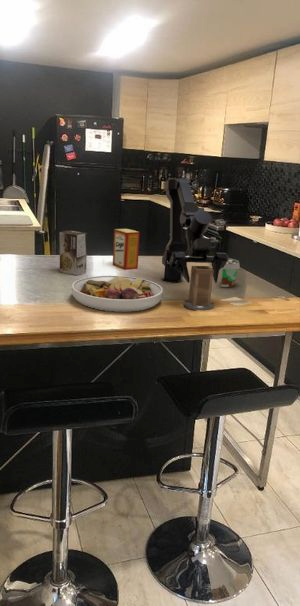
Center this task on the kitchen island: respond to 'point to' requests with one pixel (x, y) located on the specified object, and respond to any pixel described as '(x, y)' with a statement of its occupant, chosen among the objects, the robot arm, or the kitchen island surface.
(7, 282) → the kitchen island surface
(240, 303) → the cork pad
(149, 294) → the bowl
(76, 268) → the coffee box
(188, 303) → the hub
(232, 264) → the food container
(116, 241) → the baking soda box
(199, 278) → the collar
